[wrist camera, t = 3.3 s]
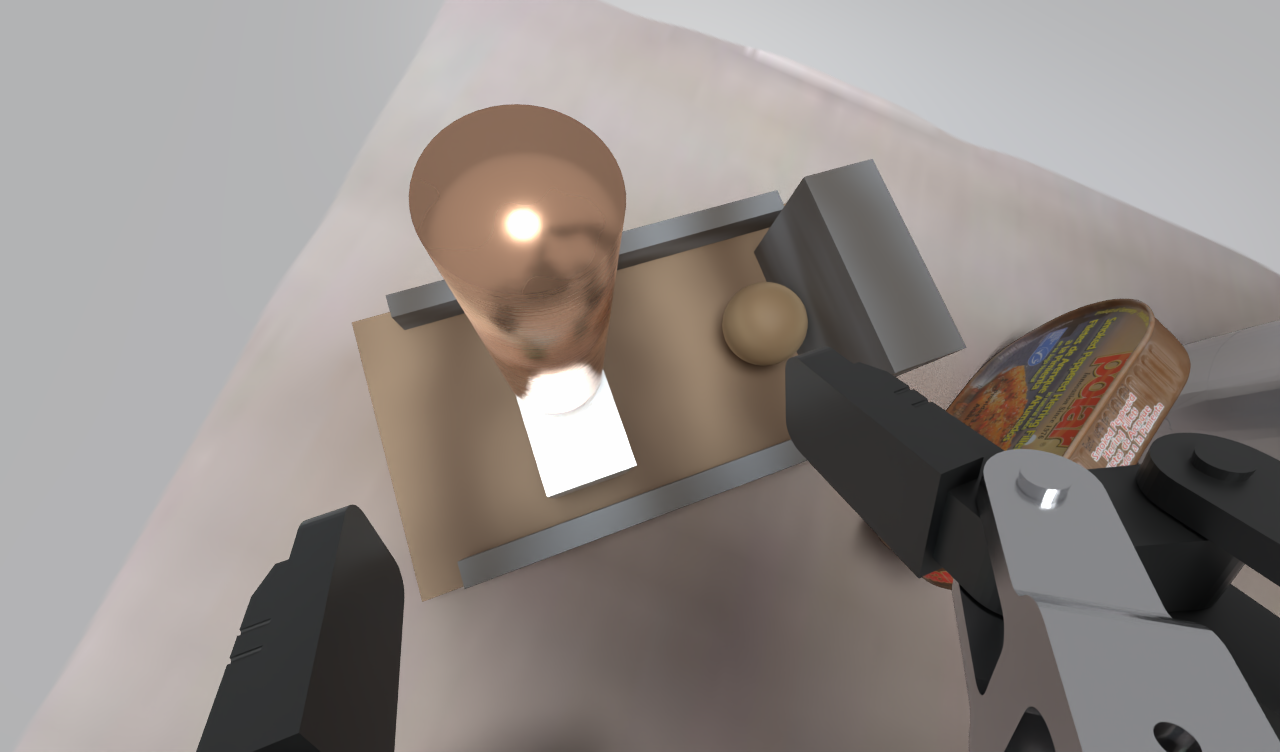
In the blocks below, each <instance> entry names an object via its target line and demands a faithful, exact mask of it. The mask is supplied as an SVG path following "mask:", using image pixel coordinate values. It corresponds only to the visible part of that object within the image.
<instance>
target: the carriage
mask: <svg viewBox="0 0 1280 752" xmlns="http://www.w3.org/2000/svg"><path fill="white" fill-rule="evenodd" d="M409 207H410V213H411V218H412V222H413V225H414V227H415V230H416V233H417V235H418V237H419V238H420V240H421V242H422V244H423V246H424V247H425V249H426V250H427V252H428V254H429V255H430V257H431V259H432V260H433V262H434V263H435V265H436V267H437V268H438V270H439V272H440V273H441V275H442V277H443V278H444V280H445V281H446V283H447V285H448V286H449V288H450V290H451V291H452V293H453V294H454V296H455V298H456V299H457V301H458V303H459V304H460V306H461V307H462V309H463V311H464V312H465V314H466V316H467V317H468V319H469V320H470V322H471V324H472V325H473V327H474V329H475V330H476V332H477V333H478V335H479V337H480V338H481V340H482V342H483V343H484V345H485V346H486V348H487V350H488V351H489V353H490V355H491V356H492V358H493V359H494V361H495V363H496V364H497V366H498V368H499V369H500V371H501V372H502V374H503V376H504V377H505V379H506V381H507V382H508V384H509V385H510V387H511V389H512V390H513V392H514V393H515V395H516V397H517V400H518V404H519V407H520V410H521V413H522V417H523V420H524V423H525V426H526V429H527V433H528V436H529V439H530V442H531V446H532V449H533V452H534V455H535V459H536V462H537V465H538V468H539V471H540V475H541V478H542V481H543V484H544V488H545V491H546V494H547V497H550V498H555V499H556V498H559V497H562V496H565V495H567V494H570V493H573V492H576V491H579V490H581V489H584V488H587V487H590V486H593V485H595V484H598V483H601V482H604V481H607V480H609V479H612V478H615V477H618V476H621V475H624V474H625V473H627V472H628V471H629V470H631V469H632V468H633V467H635V466H636V462H635V459H634V457H633V454H632V451H631V448H630V445H629V442H628V439H627V436H626V434H625V431H624V428H623V425H622V422H621V419H620V416H619V413H618V411H617V408H616V405H615V402H614V399H613V396H612V393H611V390H610V388H609V385H608V382H607V379H606V376H605V373H604V370H603V363H604V356H605V349H606V342H607V335H608V328H609V321H610V314H611V307H612V300H613V293H614V286H615V279H616V272H617V265H618V258H619V251H620V244H621V237H622V230H623V223H624V216H625V209H626V191H625V185H624V180H623V177H622V174H621V170H620V168H619V166H618V164H617V162H616V159H615V158H614V156H613V155H612V153H611V152H610V150H609V148H608V147H607V146H606V145H605V144H604V143H603V141H602V140H601V139H600V138H599V137H598V136H597V135H596V134H595V133H594V132H592V131H591V130H590V129H589V128H587V127H586V126H584V125H583V124H582V123H580V122H578V121H577V120H575V119H573V118H571V117H569V116H567V115H565V114H562V113H560V112H557V111H554V110H551V109H547V108H544V107H538V106H532V105H519V104H514V105H500V106H494V107H489V108H485V109H481V110H478V111H475V112H473V113H470V114H468V115H465V116H463V117H461V118H460V119H458V120H456V121H454V122H453V123H451V124H450V125H448V126H447V127H446V128H444V129H443V130H442V131H441V132H440V133H438V134H437V135H436V136H435V137H434V138H433V139H432V140H431V142H430V143H429V144H428V145H427V147H426V148H425V149H424V151H423V153H422V154H421V156H420V157H419V159H418V161H417V164H416V166H415V168H414V171H413V174H412V178H411V182H410V190H409Z"/></svg>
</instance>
